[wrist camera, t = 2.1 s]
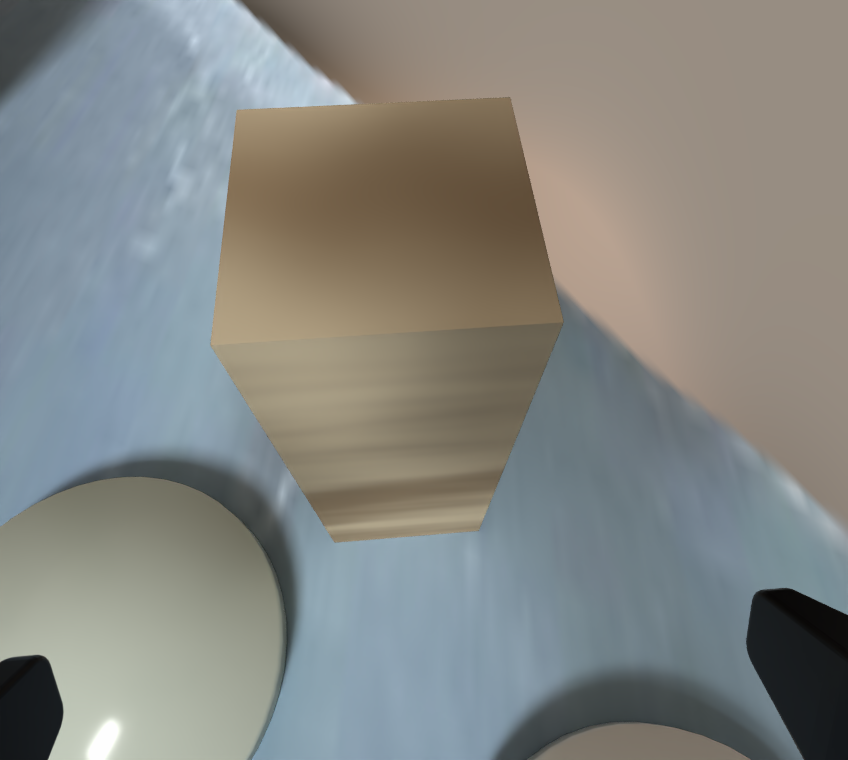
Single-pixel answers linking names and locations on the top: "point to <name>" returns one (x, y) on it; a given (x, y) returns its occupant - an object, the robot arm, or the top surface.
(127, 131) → the top surface
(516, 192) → the tan wooden block
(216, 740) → the beige round flat piece
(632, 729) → the beige flat disc
